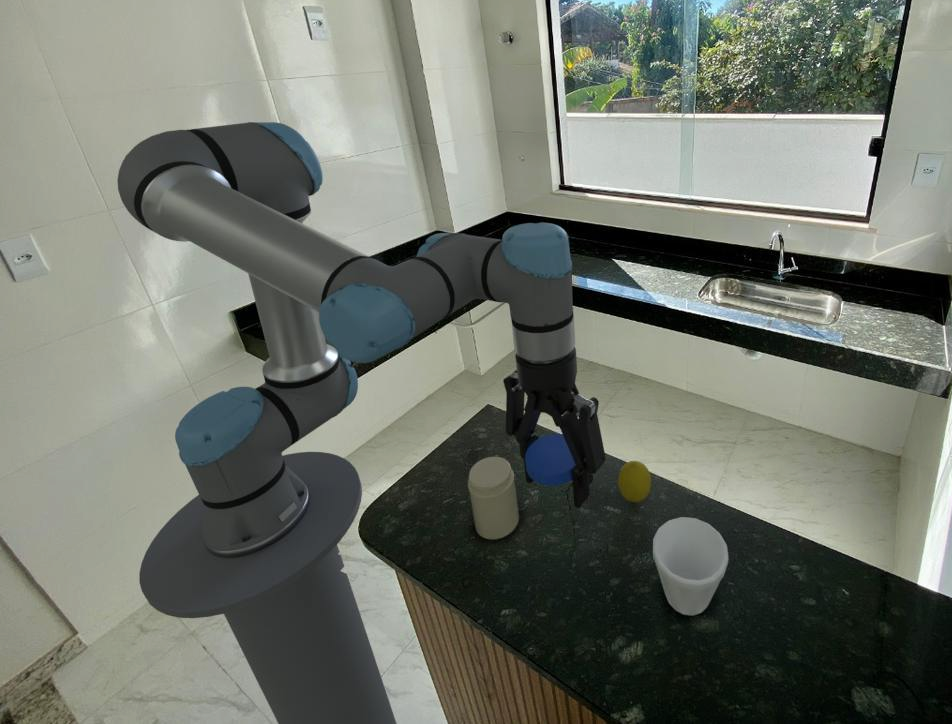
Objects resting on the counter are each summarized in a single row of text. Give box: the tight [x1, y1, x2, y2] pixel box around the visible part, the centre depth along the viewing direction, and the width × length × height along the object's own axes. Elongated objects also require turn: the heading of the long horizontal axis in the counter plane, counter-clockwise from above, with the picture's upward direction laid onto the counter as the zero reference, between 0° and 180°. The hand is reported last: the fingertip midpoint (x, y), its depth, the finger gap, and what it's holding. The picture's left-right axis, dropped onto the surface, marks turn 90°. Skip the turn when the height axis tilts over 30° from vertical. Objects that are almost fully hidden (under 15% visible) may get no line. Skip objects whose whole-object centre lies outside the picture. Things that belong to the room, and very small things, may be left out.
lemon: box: [617, 460, 652, 503], centre depth 82 cm, size 6×6×8 cm
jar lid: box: [525, 433, 575, 487], centre depth 66 cm, size 8×8×2 cm
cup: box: [652, 516, 729, 617], centre depth 66 cm, size 10×10×9 cm
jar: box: [467, 456, 520, 540], centre depth 78 cm, size 7×7×11 cm
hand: (557, 487), depth 68 cm, fingers closed on jar lid, 8 cm apart
